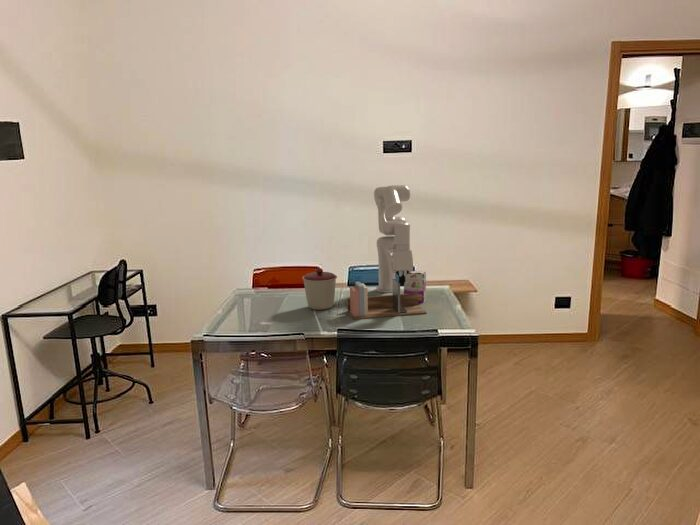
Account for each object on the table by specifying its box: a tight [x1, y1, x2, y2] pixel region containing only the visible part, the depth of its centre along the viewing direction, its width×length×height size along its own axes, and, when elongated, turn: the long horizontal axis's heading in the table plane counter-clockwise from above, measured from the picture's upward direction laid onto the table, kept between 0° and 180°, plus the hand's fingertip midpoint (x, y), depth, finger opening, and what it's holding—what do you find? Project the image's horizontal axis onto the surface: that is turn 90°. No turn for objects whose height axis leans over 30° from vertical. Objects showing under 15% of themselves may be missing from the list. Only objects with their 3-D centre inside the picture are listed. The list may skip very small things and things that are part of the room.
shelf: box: [346, 293, 427, 321], centre depth 267 cm, size 15×37×7 cm, turn 101°
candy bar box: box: [403, 270, 427, 304], centre depth 285 cm, size 11×5×16 cm, turn 66°
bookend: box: [392, 278, 407, 313], centre depth 266 cm, size 10×5×15 cm, turn 11°
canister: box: [302, 267, 338, 311], centre depth 277 cm, size 18×18×21 cm
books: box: [349, 281, 369, 317], centre depth 263 cm, size 10×7×15 cm
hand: (402, 283), depth 265 cm, fingers closed
